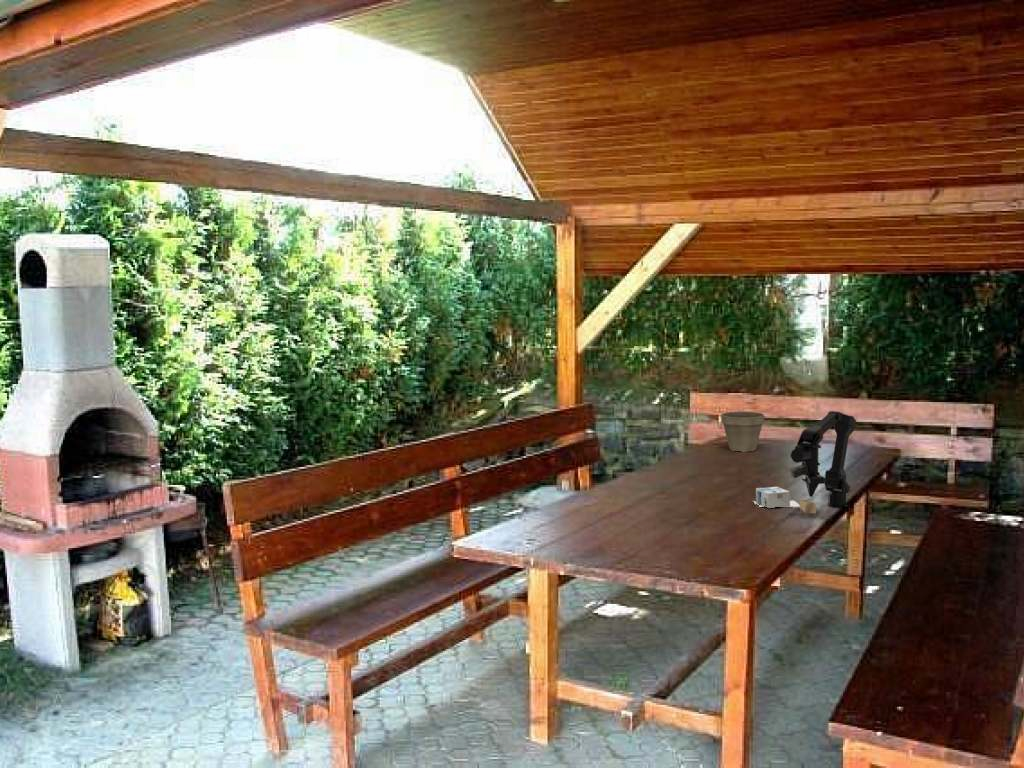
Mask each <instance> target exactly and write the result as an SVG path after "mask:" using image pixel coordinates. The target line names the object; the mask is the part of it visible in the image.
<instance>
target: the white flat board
mask: <svg viewBox="0 0 1024 768" xmlns="http://www.w3.org/2000/svg"><path fill="white" fill-rule="evenodd" d="M753 502H754V503H753ZM752 503H753V504H754V505H756V504H757V505H759V504H758V503H756V500H752ZM757 505H756V506H757ZM759 507H764V506H763V505H759ZM759 507H758V508H759ZM784 507H793V508H800V503H798V502H796V501H795V500H790V506H784Z"/></svg>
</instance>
